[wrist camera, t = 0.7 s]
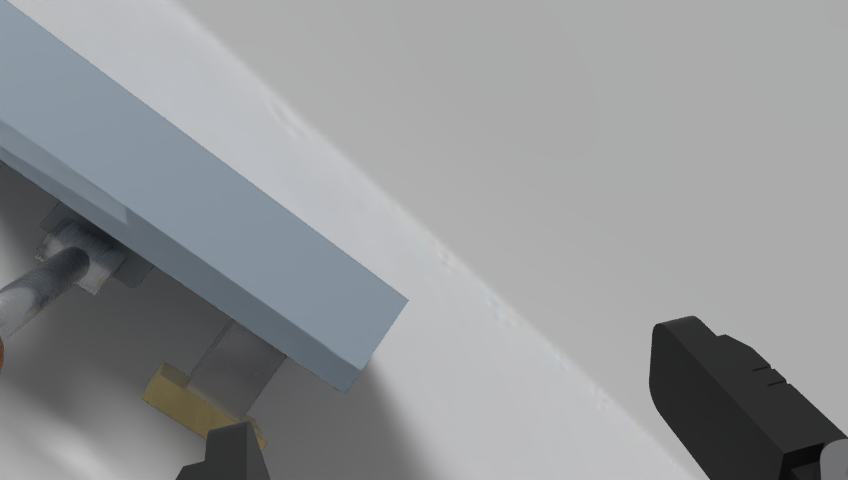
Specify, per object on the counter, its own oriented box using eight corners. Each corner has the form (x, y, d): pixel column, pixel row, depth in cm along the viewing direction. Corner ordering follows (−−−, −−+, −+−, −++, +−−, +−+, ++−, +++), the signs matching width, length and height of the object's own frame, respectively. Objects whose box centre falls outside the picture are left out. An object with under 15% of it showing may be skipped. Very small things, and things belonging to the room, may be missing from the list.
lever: (42, 254, 25) (-177, 394, 15) (80, 201, 25) (-121, 309, 15) (103, 295, 26) (-69, 454, 16) (141, 244, 25) (-11, 374, 15)
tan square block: (148, 381, 28) (141, 398, 23) (209, 301, 29) (213, 304, 24) (241, 439, 29) (250, 467, 25) (296, 361, 30) (314, 374, 26)
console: (-84, 134, 30) (-266, 33, 18) (-3, 50, 32) (-123, -96, 20) (276, 376, 35) (324, 425, 23) (334, 294, 36) (408, 300, 24)
